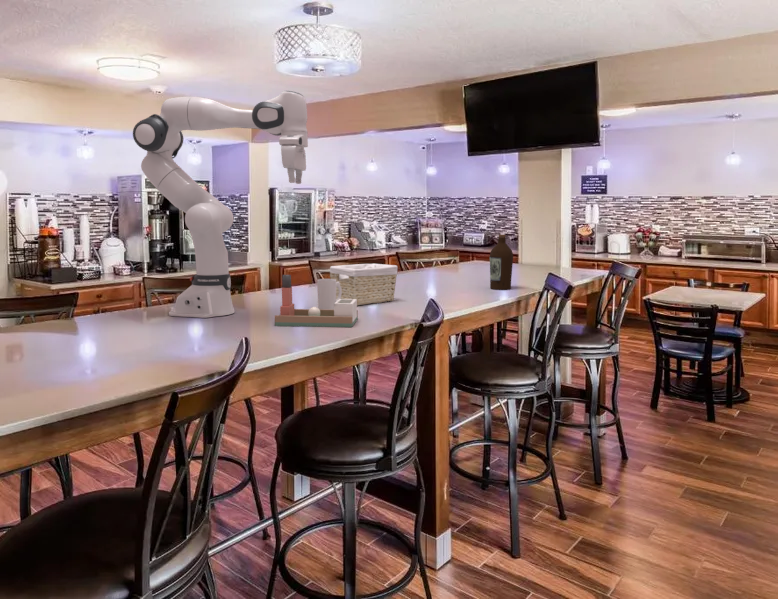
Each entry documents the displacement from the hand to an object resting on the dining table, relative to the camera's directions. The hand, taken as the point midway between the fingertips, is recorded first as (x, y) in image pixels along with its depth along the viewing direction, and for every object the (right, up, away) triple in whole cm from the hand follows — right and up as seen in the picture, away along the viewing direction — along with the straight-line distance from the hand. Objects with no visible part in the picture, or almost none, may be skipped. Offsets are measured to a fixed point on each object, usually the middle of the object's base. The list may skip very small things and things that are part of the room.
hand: (295, 183), depth 213 cm
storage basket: (+22, -41, +38) cm, 60 cm away
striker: (-2, -45, -5) cm, 46 cm away
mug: (+11, -44, +13) cm, 48 cm away
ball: (+7, -44, -6) cm, 45 cm away
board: (+8, -47, -6) cm, 48 cm away
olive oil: (+84, -35, +78) cm, 119 cm away
